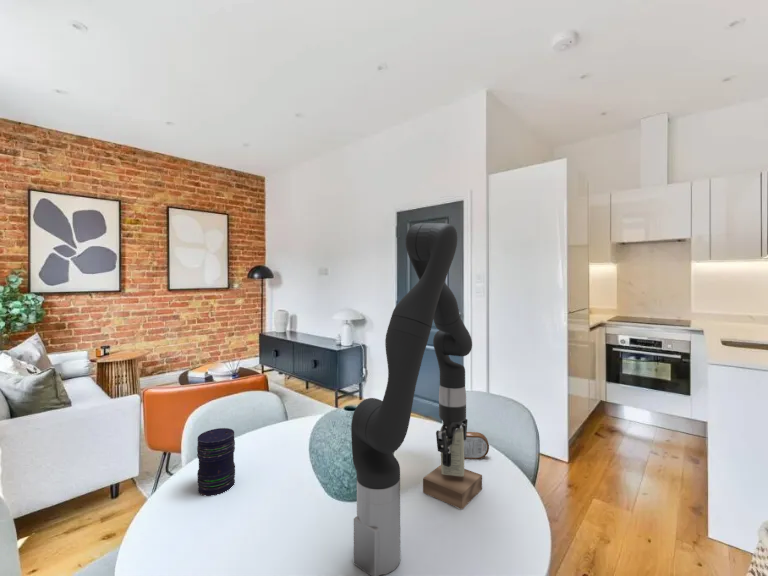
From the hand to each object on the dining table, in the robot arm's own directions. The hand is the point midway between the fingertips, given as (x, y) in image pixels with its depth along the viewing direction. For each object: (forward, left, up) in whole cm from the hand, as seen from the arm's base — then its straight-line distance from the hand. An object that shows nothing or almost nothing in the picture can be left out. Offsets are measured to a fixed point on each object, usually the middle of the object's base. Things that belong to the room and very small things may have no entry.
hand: (452, 461), depth 100 cm
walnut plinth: (0, 0, -8) cm, 8 cm away
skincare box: (0, 0, -3) cm, 3 cm away
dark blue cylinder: (-41, +54, -9) cm, 68 cm away
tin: (+20, +6, -9) cm, 23 cm away
